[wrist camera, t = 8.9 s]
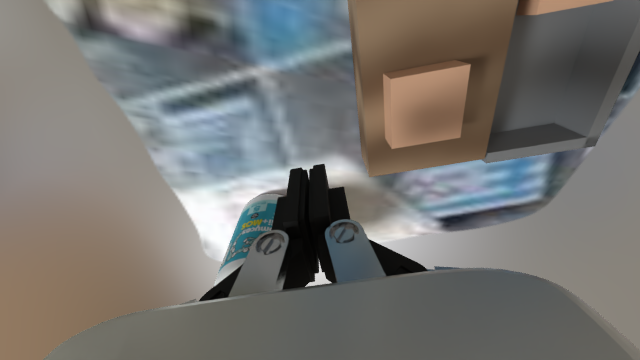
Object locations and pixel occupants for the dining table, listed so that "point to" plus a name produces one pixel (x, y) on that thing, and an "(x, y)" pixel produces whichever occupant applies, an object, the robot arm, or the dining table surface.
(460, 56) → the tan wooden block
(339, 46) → the dining table surface
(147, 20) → the dining table surface
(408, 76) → the tile
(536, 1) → the tile
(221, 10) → the dining table surface
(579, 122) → the tray
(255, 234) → the pill bottle
